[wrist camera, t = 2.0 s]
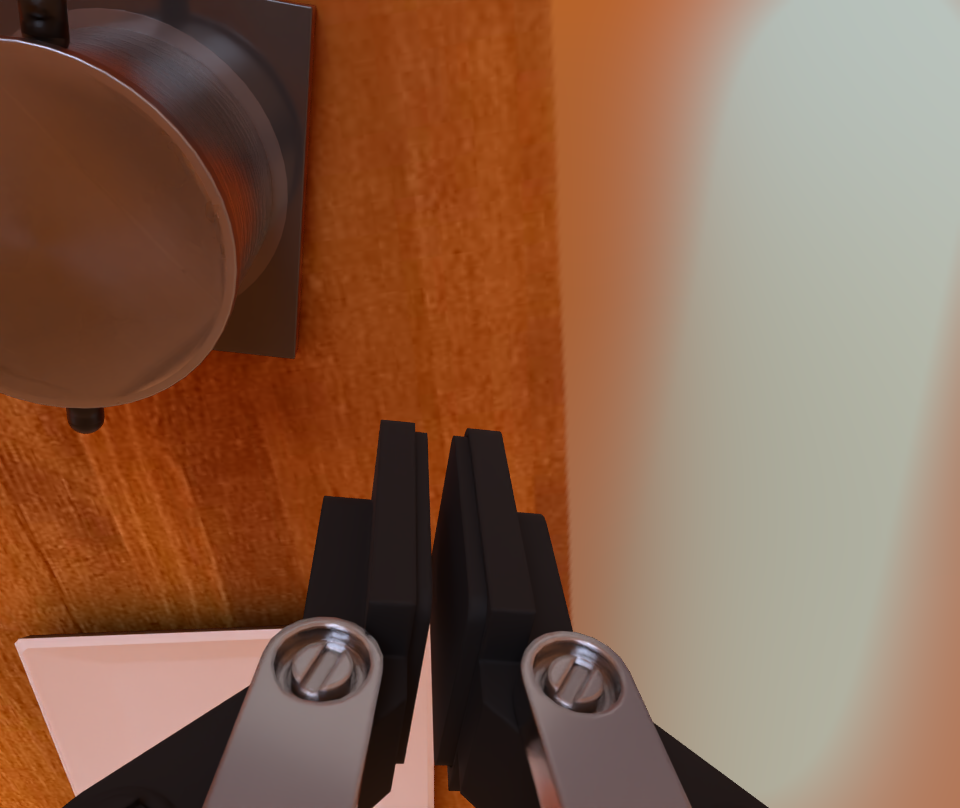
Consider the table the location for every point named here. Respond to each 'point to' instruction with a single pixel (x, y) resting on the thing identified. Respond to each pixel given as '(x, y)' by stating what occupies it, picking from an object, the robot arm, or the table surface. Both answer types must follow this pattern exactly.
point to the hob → (272, 109)
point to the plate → (172, 697)
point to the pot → (117, 213)
